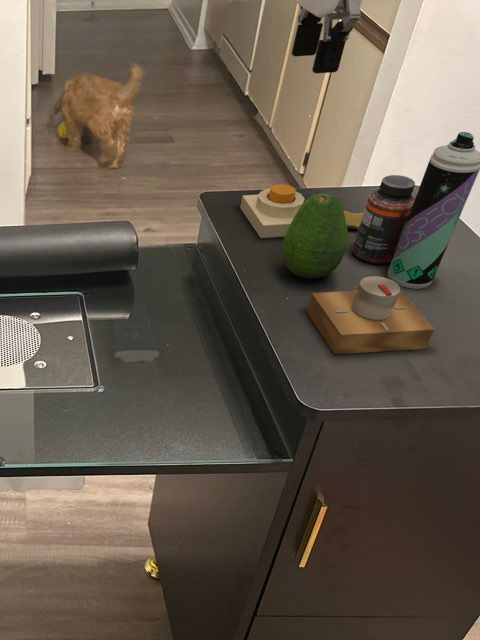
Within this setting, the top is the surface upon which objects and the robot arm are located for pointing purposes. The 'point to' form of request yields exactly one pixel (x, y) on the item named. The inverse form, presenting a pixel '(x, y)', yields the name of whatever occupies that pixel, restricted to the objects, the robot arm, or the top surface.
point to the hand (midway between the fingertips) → (313, 62)
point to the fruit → (316, 237)
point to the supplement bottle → (384, 220)
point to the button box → (270, 213)
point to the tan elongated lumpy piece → (353, 219)
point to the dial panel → (367, 325)
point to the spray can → (435, 212)
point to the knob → (375, 298)
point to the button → (282, 194)
